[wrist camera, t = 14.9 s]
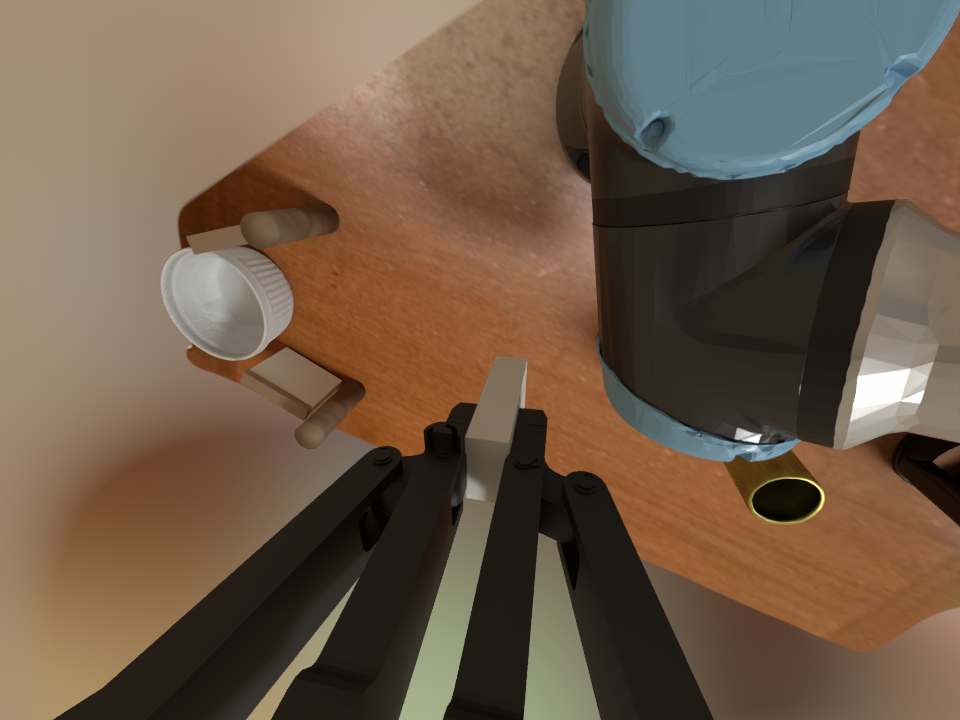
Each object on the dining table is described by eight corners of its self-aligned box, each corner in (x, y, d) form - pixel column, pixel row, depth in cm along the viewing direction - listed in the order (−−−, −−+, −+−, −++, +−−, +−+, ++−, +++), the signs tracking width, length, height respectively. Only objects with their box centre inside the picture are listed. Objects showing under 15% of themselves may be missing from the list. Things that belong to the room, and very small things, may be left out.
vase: (684, 390, 43) (734, 480, 30) (746, 374, 41) (827, 463, 28) (697, 433, 45) (749, 534, 32) (757, 420, 42) (838, 523, 30)
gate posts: (312, 204, 42) (236, 212, 32) (336, 204, 42) (267, 212, 32) (346, 397, 53) (297, 447, 43) (366, 400, 52) (321, 450, 43)
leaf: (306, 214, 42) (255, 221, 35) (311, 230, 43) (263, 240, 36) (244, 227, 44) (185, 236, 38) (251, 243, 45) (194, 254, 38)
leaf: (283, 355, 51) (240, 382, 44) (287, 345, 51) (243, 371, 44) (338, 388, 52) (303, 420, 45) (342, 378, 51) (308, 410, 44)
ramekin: (323, 318, 48) (288, 339, 42) (254, 353, 53) (213, 376, 47) (259, 218, 44) (210, 225, 38) (190, 265, 49) (136, 278, 43)
